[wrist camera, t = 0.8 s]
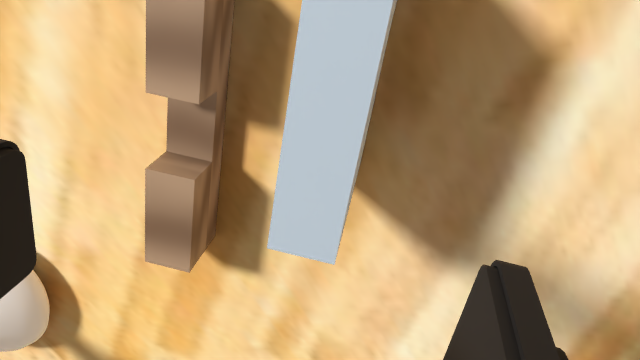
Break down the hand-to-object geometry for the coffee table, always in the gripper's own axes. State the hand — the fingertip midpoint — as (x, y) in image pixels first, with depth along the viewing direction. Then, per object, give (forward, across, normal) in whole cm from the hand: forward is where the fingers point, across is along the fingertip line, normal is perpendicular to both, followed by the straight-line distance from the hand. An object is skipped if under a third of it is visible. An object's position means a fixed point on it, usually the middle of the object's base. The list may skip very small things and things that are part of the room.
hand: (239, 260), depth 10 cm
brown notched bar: (+20, +9, +6) cm, 23 cm away
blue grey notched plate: (+20, 0, 0) cm, 20 cm away
